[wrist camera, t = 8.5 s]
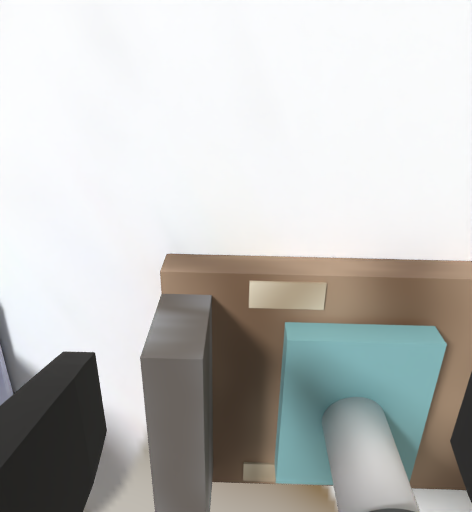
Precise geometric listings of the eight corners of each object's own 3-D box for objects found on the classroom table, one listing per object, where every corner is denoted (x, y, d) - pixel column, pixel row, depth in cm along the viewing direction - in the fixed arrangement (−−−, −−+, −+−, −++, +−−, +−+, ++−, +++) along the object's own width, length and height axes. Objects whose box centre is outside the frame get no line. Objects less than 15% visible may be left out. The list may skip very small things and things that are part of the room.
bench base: (178, 454, 24) (160, 563, 19) (166, 253, 19) (137, 331, 14) (515, 464, 24) (585, 578, 19) (597, 264, 19) (725, 347, 14)
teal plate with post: (274, 460, 22) (285, 634, 15) (284, 322, 18) (304, 473, 12) (400, 465, 22) (462, 641, 15) (435, 326, 18) (534, 480, 12)
